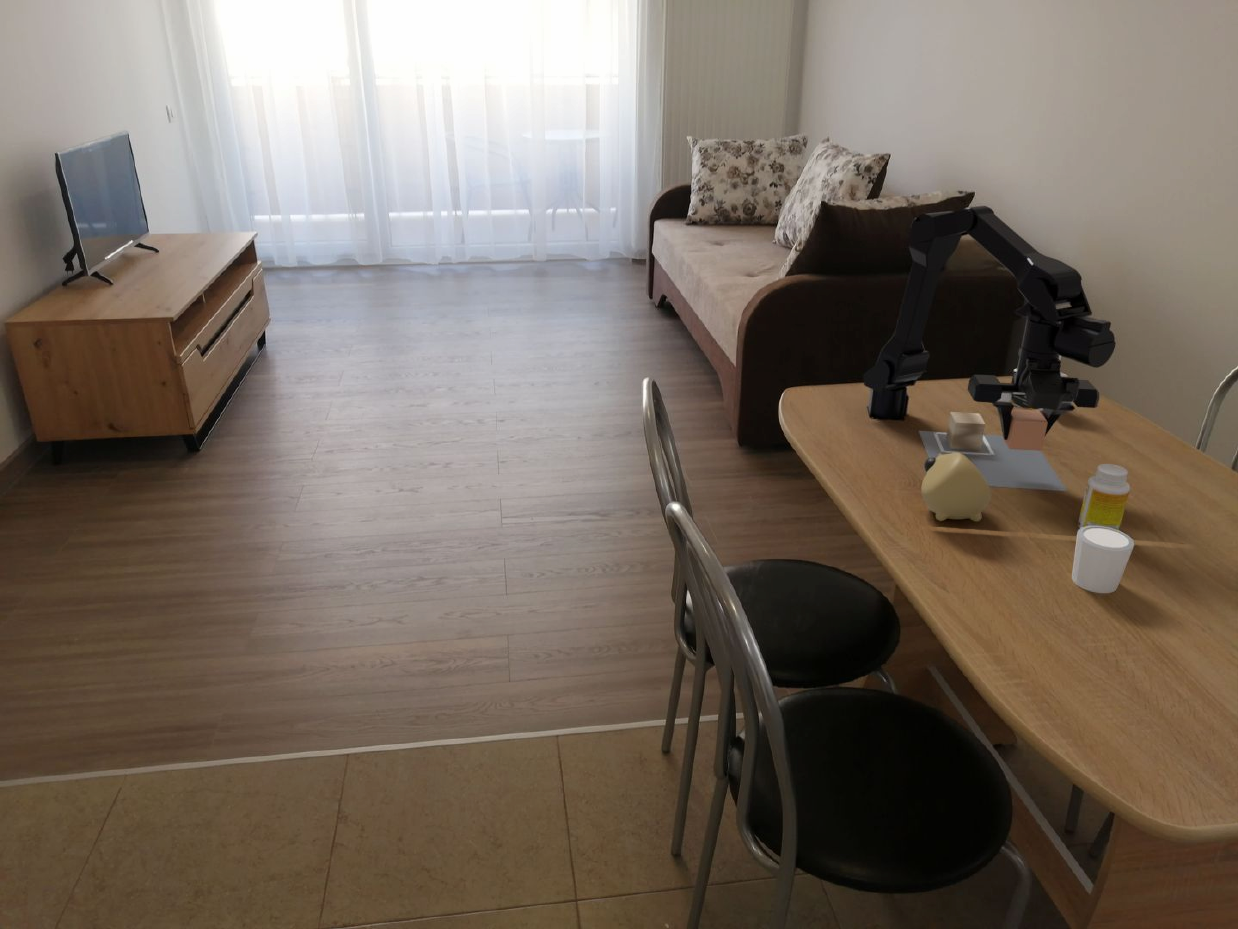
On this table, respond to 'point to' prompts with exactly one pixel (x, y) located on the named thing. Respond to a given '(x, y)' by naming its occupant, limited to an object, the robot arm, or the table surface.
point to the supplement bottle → (1105, 497)
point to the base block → (965, 431)
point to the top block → (1026, 430)
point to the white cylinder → (1100, 558)
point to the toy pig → (954, 487)
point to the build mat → (1000, 462)
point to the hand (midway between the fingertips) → (1022, 439)
